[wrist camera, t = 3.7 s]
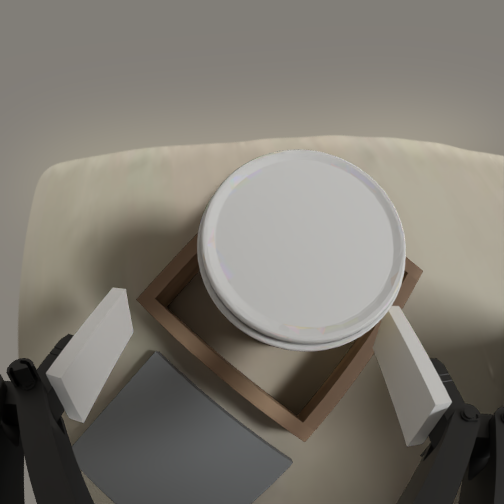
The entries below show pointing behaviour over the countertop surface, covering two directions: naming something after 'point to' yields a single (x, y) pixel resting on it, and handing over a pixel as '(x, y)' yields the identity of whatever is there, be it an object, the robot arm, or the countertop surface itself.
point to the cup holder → (300, 426)
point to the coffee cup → (301, 250)
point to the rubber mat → (174, 445)
